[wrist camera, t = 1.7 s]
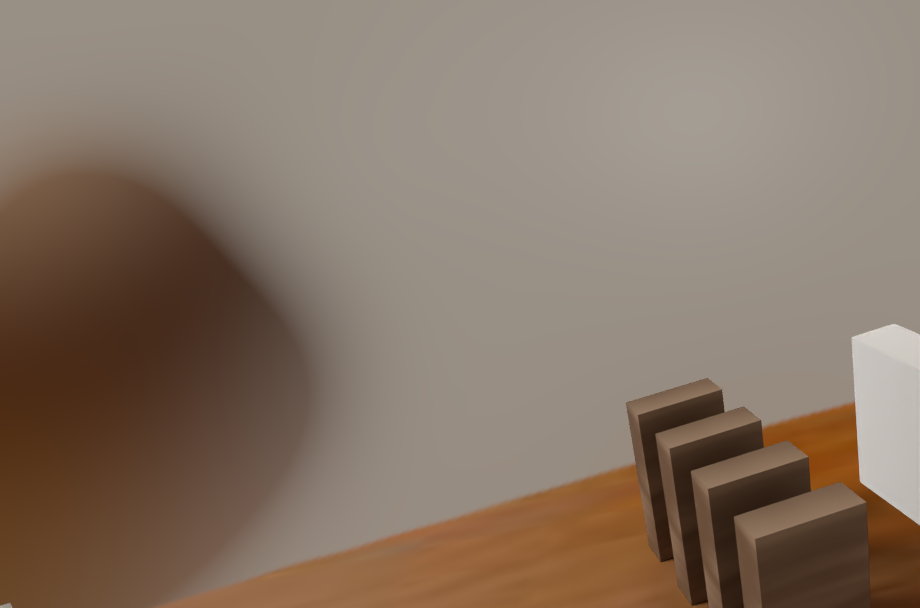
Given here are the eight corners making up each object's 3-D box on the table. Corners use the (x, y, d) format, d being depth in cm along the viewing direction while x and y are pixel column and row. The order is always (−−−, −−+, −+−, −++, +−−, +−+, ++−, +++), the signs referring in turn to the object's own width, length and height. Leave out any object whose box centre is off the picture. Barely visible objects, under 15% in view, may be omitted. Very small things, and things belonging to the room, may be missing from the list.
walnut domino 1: (738, 536, 45) (721, 389, 41) (660, 561, 44) (637, 414, 41) (724, 520, 46) (707, 378, 43) (649, 545, 46) (625, 402, 42)
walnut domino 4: (873, 683, 34) (866, 502, 31) (773, 720, 33) (754, 539, 30) (849, 657, 35) (840, 481, 32) (753, 692, 35) (733, 516, 32)
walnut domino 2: (775, 576, 41) (760, 420, 38) (691, 605, 41) (669, 448, 37) (759, 558, 43) (743, 406, 39) (678, 586, 42) (655, 433, 39)
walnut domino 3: (819, 625, 38) (808, 456, 34) (728, 657, 37) (707, 489, 34) (800, 603, 39) (787, 440, 36) (712, 633, 38) (690, 471, 35)
